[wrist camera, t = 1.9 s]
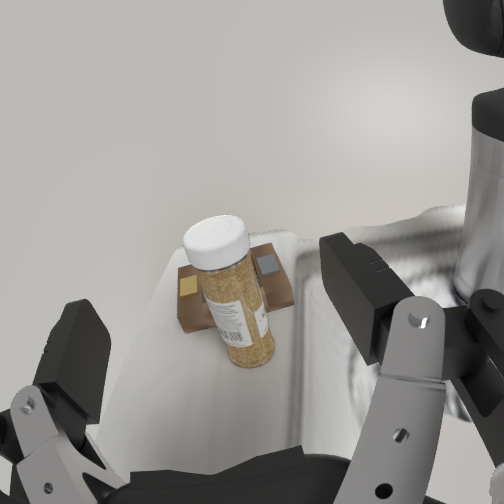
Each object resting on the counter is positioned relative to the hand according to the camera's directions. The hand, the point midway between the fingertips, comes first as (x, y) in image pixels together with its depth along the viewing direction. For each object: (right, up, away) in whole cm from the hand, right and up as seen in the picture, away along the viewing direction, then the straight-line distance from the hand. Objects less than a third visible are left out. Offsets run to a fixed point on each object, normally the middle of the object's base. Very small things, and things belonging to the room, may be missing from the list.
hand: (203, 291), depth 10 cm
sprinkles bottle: (+2, -8, +19) cm, 21 cm away
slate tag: (+3, 0, +25) cm, 25 cm away
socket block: (-1, -3, +26) cm, 26 cm away
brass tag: (-5, -3, +25) cm, 25 cm away
